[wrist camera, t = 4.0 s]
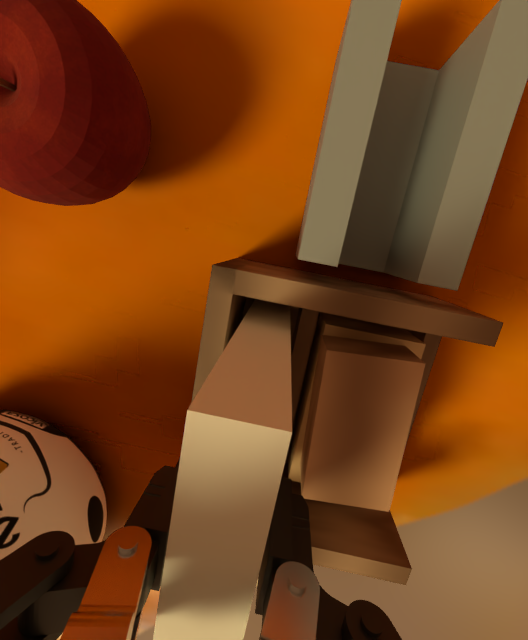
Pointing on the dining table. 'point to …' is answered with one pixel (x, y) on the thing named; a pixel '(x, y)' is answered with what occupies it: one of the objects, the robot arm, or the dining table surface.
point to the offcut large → (325, 326)
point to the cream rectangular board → (228, 482)
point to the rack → (305, 306)
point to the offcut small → (358, 421)
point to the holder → (412, 146)
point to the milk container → (46, 485)
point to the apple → (67, 105)
